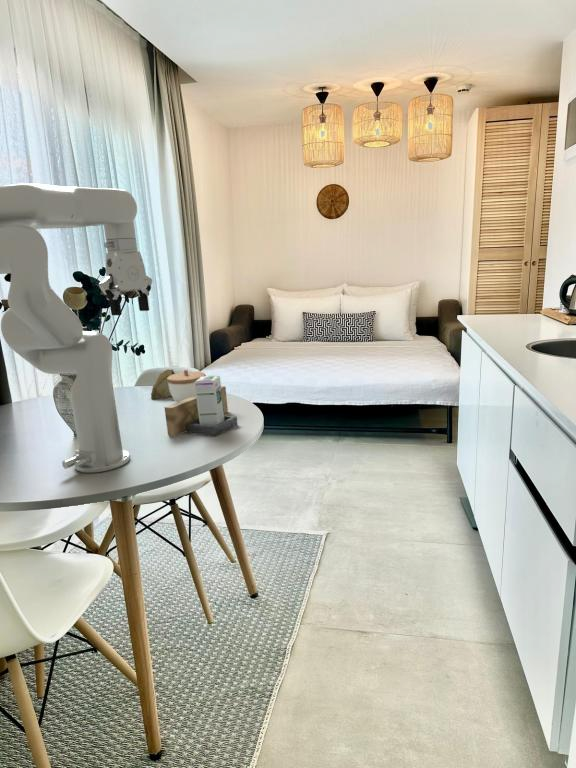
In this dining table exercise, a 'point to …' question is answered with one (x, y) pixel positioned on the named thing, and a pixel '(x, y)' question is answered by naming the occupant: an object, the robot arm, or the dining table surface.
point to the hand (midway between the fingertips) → (130, 312)
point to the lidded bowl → (183, 384)
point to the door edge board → (185, 413)
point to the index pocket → (211, 430)
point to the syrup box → (209, 400)
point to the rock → (162, 385)
